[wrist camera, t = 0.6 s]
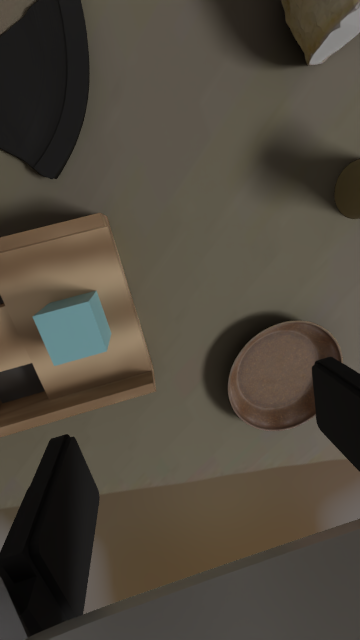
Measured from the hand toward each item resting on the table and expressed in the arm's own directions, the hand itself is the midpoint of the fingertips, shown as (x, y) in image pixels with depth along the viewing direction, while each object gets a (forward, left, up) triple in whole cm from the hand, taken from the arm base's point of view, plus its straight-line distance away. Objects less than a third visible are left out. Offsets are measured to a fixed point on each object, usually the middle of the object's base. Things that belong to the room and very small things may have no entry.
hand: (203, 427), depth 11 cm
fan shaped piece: (-20, -5, -22) cm, 30 cm away
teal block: (-1, -8, -18) cm, 20 cm away
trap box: (-1, -16, -21) cm, 26 cm away
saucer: (+13, +12, -22) cm, 28 cm away
